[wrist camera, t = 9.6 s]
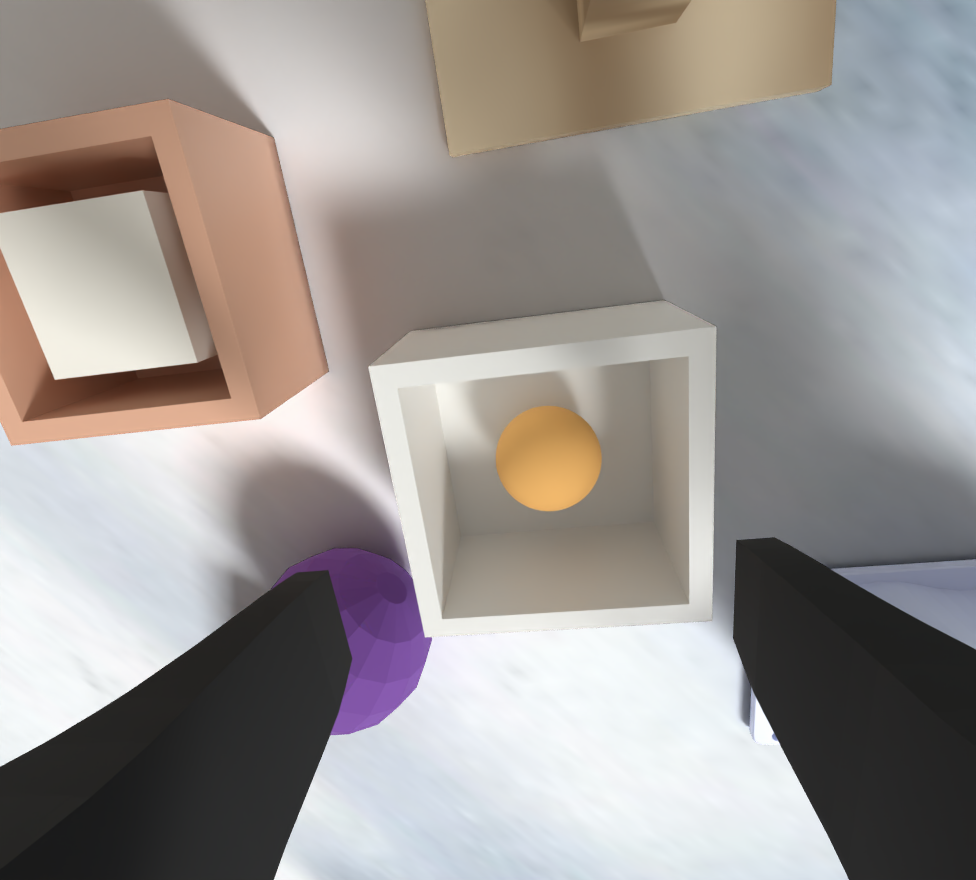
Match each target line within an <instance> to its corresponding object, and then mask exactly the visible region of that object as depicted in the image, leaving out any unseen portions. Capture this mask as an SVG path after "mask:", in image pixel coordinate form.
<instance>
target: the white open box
mask: <svg viewBox="0 0 976 880" xmlns="http://www.w3.org/2000/svg"><path fill="white" fill-rule="evenodd" d="M716 333H717V326H715V325H713V324H711V323H709V322H707V321H705V320H703V319H701V318H699V317H697V316H695V315H693V314H691V313H689V312H687V311H685V310H683V309H681V308H679V307H677V306H675V305H673V304H671V303H669V302H667V301H665V300H661V301H653V302H645V303H636V304H628V305H620V306H612V307H604V308H595V309H587V310H579V311H571V312H563V313H554V314H546V315H538V316H530V317H521V318H513V319H505V320H497V321H489V322H480V323H472V324H464V325H456V326H448V327H439V328H431V329H423V330H415V331H410V332H409V333H408V334H407V335H405V336H404V337H403V338H402V339H401V340H399V341H398V342H397V343H396V344H395V345H393V346H392V347H391V348H390V349H389V350H387V351H386V352H385V353H384V354H383V355H381V356H380V357H379V358H378V359H377V360H375V361H374V362H373V363H372V364H371V365H370V366H368V368H369V373H370V378H371V383H372V387H373V392H374V397H375V402H376V406H377V411H378V416H379V421H380V426H381V430H382V435H383V440H384V445H385V449H386V454H387V459H388V464H389V468H390V473H391V478H392V483H393V487H394V492H395V497H396V502H397V506H398V511H399V516H400V521H401V525H402V530H403V535H404V540H405V544H406V549H407V554H408V559H409V564H410V568H411V573H412V578H413V583H414V587H415V592H416V597H417V602H418V606H419V611H420V616H421V621H422V625H423V630H424V635H425V637H442V636H460V635H477V634H495V633H512V632H530V631H548V630H565V629H583V628H600V627H618V626H635V625H653V624H670V623H688V622H705V621H712V604H713V537H714V469H715V401H716ZM540 406H557V407H562V408H565V409H568V410H571V411H572V412H574V413H576V414H578V415H579V416H581V417H582V418H583V419H584V420H585V421H586V422H587V423H588V424H589V425H590V426H591V427H592V429H593V431H594V432H595V434H596V436H597V438H598V440H599V444H600V447H601V454H602V464H601V470H600V474H599V477H598V479H597V481H596V484H595V485H594V487H593V488H592V490H591V491H590V492H589V494H588V495H587V496H586V497H585V498H583V499H582V500H581V501H580V502H578V503H577V504H575V505H573V506H571V507H568V508H566V509H562V510H558V511H540V510H535V509H532V508H529V507H527V506H525V505H523V504H521V503H520V502H518V501H517V500H515V499H514V498H513V497H512V496H511V495H510V494H509V493H508V492H507V490H506V489H505V488H504V486H503V484H502V482H501V481H500V478H499V475H498V472H497V468H496V449H497V444H498V441H499V439H500V436H501V434H502V432H503V431H504V429H505V428H506V426H507V425H508V424H509V423H510V422H511V421H512V420H513V419H514V418H515V417H516V416H518V415H519V414H521V413H523V412H524V411H527V410H529V409H532V408H535V407H540Z"/></svg>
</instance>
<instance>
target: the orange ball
mask: <svg viewBox="0 0 976 880" xmlns="http://www.w3.org/2000/svg"><path fill="white" fill-rule="evenodd" d="M601 464H602V454H601V447H600V444H599V440H598V438H597V436H596V434H595V432H594V431H593V429H592V427H591V426H590V425H589V424H588V423H587V422H586V421H585V420H584V419H583V418H582V417H581V416H579V415H578V414H576V413H574V412H572V411H571V410H568V409H565V408H562V407H557V406H540V407H535V408H532V409H529V410H527V411H524V412H523V413H521V414H519V415H518V416H516V417H515V418H514V419H513V420H512V421H511V422H510V423H509V424H508V425H507V426H506V428H505V429H504V431H503V432H502V434H501V436H500V439H499V441H498V444H497V449H496V468H497V472H498V475H499V478H500V481H501V482H502V484H503V486H504V488H505V489H506V490H507V492H508V493H509V494H510V495H511V496H512V497H513V498H514V499H515V500H517V501H518V502H520V503H521V504H523V505H525V506H527V507H529V508H532V509H535V510H540V511H558V510H562V509H566V508H568V507H571V506H573V505H575V504H577V503H578V502H580V501H581V500H582V499H583V498H585V497H586V496H587V495H588V494H589V492H590V491H591V490H592V488H593V487H594V485H595V484H596V481H597V479H598V477H599V474H600V470H601Z"/></svg>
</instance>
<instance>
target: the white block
mask: <svg viewBox="0 0 976 880" xmlns="http://www.w3.org/2000/svg"><path fill="white" fill-rule="evenodd" d="M0 249H1V251H2V254H3V256H4V259H5V261H6V263H7V266H8V268H9V271H10V273H11V275H12V278H13V280H14V283H15V285H16V287H17V290H18V292H19V295H20V297H21V299H22V302H23V304H24V307H25V309H26V311H27V314H28V316H29V319H30V321H31V323H32V326H33V328H34V331H35V333H36V335H37V338H38V340H39V343H40V345H41V347H42V350H43V352H44V355H45V357H46V359H47V362H48V364H49V367H50V369H51V372H52V374H53V376H54V379H55V380H57V379H66V378H74V377H82V376H90V375H99V374H107V373H115V372H124V371H132V370H140V369H149V368H157V367H165V366H173V365H182V364H190V363H198V362H200V361H203V360H205V359H208V358H210V357H213V356H216V355H218V353H217V350H216V347H215V344H214V340H213V337H212V334H211V330H210V327H209V324H208V321H207V317H206V314H205V311H204V307H203V304H202V301H201V298H200V294H199V291H198V288H197V284H196V281H195V278H194V275H193V271H192V268H191V265H190V262H189V258H188V255H187V252H186V248H185V245H184V242H183V239H182V235H181V232H180V229H179V225H178V222H177V219H176V216H175V212H174V209H173V206H172V203H171V199H170V196H169V193H163V192H154V191H144V190H141V191H135V192H129V193H123V194H116V195H110V196H104V197H98V198H91V199H85V200H79V201H73V202H67V203H60V204H54V205H48V206H42V207H35V208H29V209H23V210H17V211H10V212H4V213H0Z"/></svg>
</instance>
